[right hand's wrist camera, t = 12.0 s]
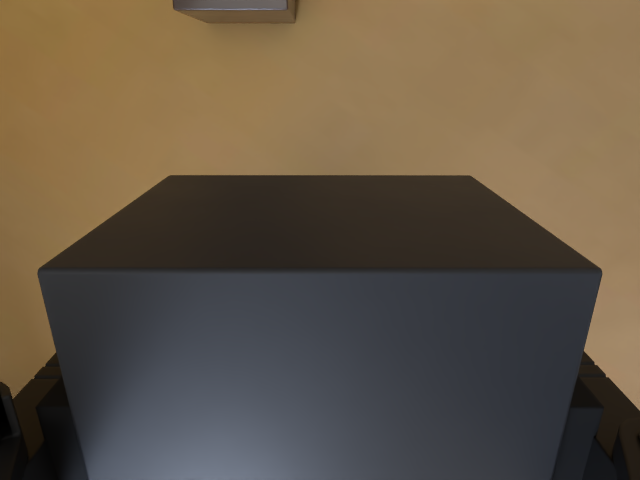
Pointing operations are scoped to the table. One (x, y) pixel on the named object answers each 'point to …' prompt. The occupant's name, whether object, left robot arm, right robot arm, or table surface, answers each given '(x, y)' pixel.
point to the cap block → (319, 331)
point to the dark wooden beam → (238, 10)
